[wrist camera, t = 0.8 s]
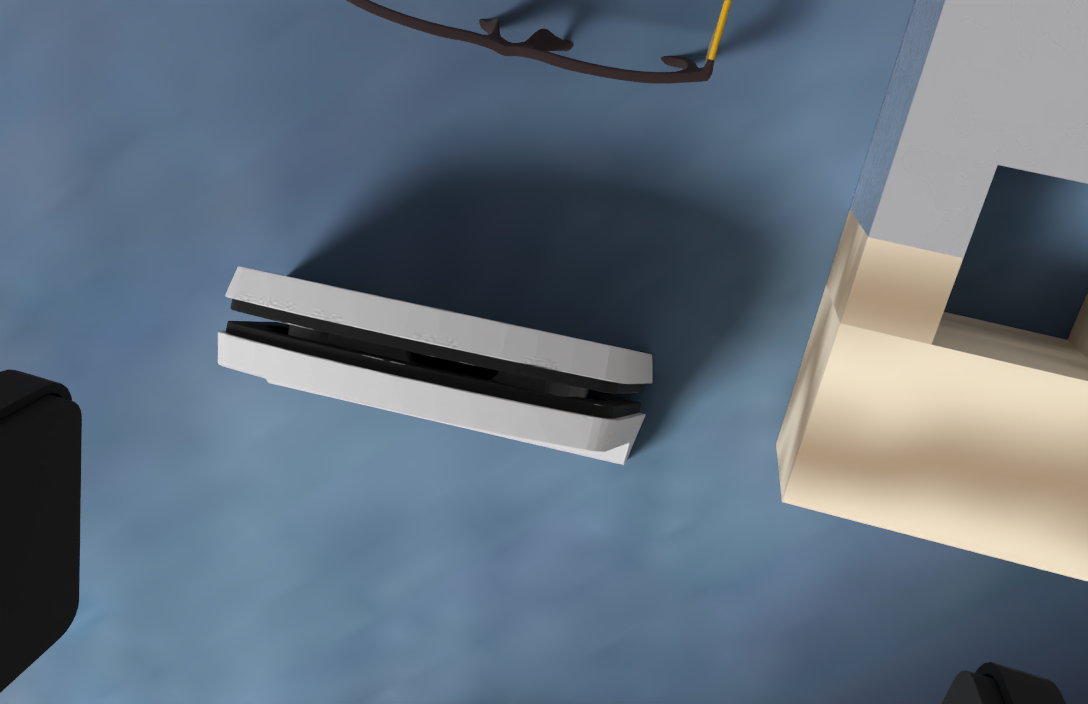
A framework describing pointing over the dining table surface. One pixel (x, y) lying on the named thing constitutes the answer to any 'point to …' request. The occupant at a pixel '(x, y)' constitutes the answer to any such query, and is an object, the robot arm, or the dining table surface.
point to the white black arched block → (434, 394)
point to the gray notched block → (974, 115)
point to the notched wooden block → (938, 414)
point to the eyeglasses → (558, 47)
